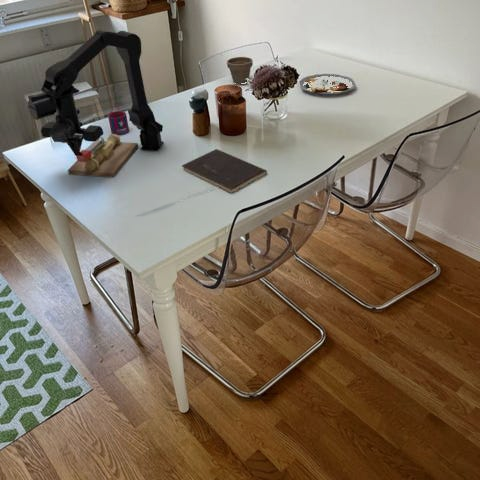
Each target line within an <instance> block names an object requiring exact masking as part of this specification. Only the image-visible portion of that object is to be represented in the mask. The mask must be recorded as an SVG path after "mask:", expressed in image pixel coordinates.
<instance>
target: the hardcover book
mask: <svg viewBox="0 0 480 480" xmlns="http://www.w3.org/2000/svg"><path fill="white" fill-rule="evenodd" d="M181 167H182V168H183V170H184V171H185V172H187V173H190V174H191V173H192V174H191V175H193V174H194V175H193V176H195V175H196V177H197V176H198V178H199V177H200V179H201V178H202V179H201V180H203V179H204V180H203V181H205V180H206V181H205V182H208V183H209V184H212V185H214V186H215V187H217V188H220V187H221V188H220V189H222V188H223V189H222V190H224V189H225V190H224V191H226V190H227V191H226V192H228V191H229V192H228V193H230V192H231V193H230V194H233V193H235V192H236V191H235V190H237V189H238V190H240V189H242V188H243V187H242V186H244V185H246V184H247V185H249V184H251V183H252V182H251V181H253V180H255V179H256V180H258V179H260V178H262V177H263V176H262V175H264V174H265V175H267V174H268V173H267V172H268V170H267V169H265V168H261V167H259V166H258V165H256V164H253V163H252V162H248V161H246V160H244V159H241V158H238V157H236V156H234V155H232V154H230V153H227V152H224V151H222V150H220V149H218V148H215V149H213V150H211V151H209V152H207V153H205V154H203V155H201V156H199V157H197V158H195V159H192V160H190V161H188V162H186V163H184V164H183V165H181ZM265 175H264V176H265ZM261 176H262V177H261ZM259 177H260V178H259ZM257 178H258V179H257ZM256 180H255V181H256ZM250 182H251V183H250ZM253 182H254V181H253ZM248 183H249V184H248ZM247 185H246V186H247ZM241 187H242V188H241ZM244 187H245V186H244ZM239 188H240V189H239ZM238 190H237V191H238ZM234 191H235V192H234ZM232 192H233V193H232Z"/></svg>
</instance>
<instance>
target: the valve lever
mask: <svg viewBox="0 0 480 480" xmlns="http://www.w3.org/2000/svg"><path fill="white" fill-rule="evenodd" d="M105 141H106V140H105V138H104V137H103V136H101V137H100V138H99V139H97V140H96V141H94V142H92V143H91V144H90V145H89V146H87V147H86V148H85V149H82V150H80V152H79V153H78V154H77V155H76V156H75V158H76V161H78V162H86V161H88V160H89V159H90V158H91V157H92V156H91V155H92V154H93V153H94V152H95V151H96V150H97V149H98V148H100V147H101V146H102V145H103V144H105Z"/></svg>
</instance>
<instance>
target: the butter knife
mask: <svg viewBox="0 0 480 480" xmlns="http://www.w3.org/2000/svg"><path fill="white" fill-rule="evenodd" d="M215 187H216V186H215ZM215 187H214V186H210V187H207V188H205V189H202V190H199V191H196V192H195V193H192V194H190V195H188V196H186V197H183V198H181V199H179V200H178V202H182V201H183V202H184V201H185V200H188V199H189V200H190V199H191V198H194V197H198V196H200V195H201V196H202V195H204V194H207V193H209V192H208V191H209V190H212V189H215V190H216V188H215ZM206 192H207V193H206Z"/></svg>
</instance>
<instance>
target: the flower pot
mask: <svg viewBox="0 0 480 480" xmlns="http://www.w3.org/2000/svg"><path fill="white" fill-rule="evenodd" d="M253 65H254V64H253V59H252V57H248V56H247V57H246V56H236V57H232V58H230V59H227V60H226V66H227V68H228V69H229V71H230V76H231V80H232V82H233V84H234V83H236V84H241V83H245V82H247V80H245V78H249V79H250V74H251V68H252V67H253ZM236 84H235V85H236Z"/></svg>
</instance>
